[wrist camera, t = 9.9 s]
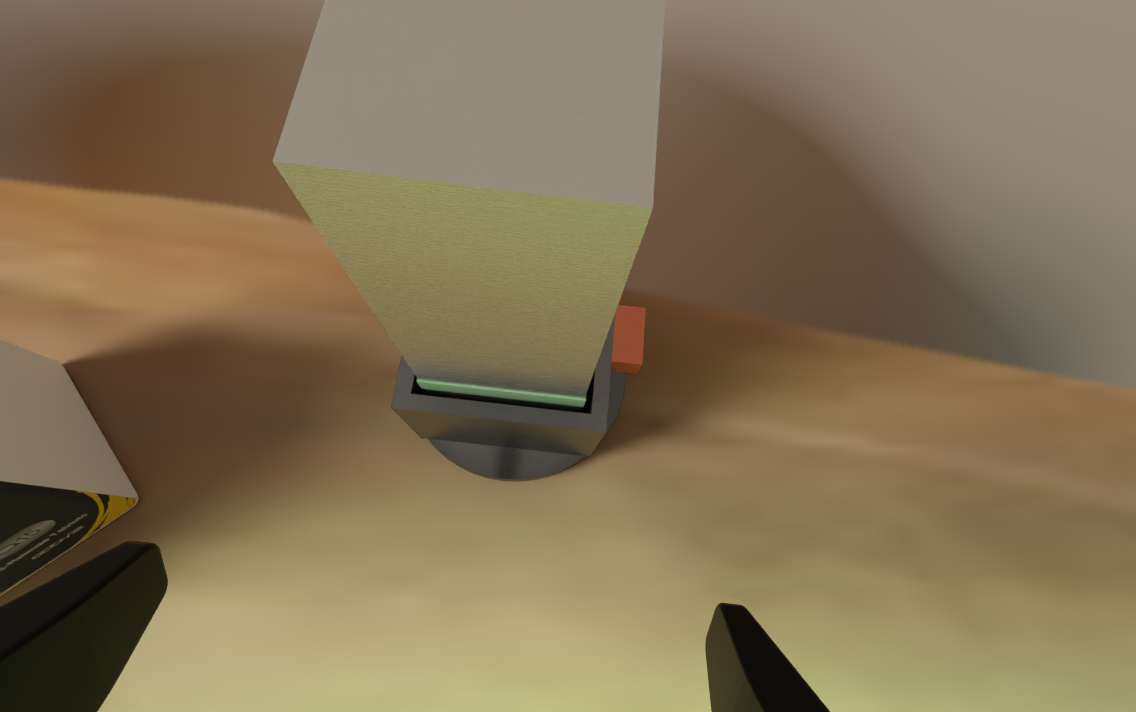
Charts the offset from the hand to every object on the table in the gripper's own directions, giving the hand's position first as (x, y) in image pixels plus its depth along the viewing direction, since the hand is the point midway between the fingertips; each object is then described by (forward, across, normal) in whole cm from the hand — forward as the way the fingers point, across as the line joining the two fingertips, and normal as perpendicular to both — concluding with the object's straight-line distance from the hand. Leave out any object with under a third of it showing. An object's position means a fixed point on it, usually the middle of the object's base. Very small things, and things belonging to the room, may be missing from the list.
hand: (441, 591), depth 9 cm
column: (+12, 0, +1) cm, 12 cm away
